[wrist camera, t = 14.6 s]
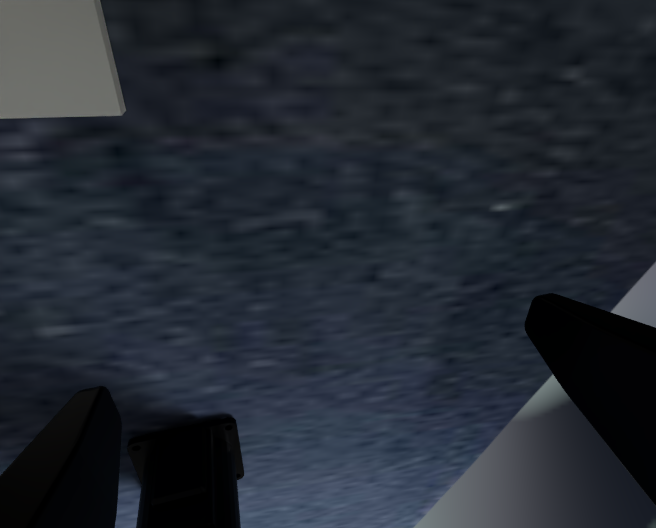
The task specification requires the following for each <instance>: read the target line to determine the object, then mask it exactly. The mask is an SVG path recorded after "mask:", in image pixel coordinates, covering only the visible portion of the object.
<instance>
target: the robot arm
mask: <svg viewBox="0 0 656 528" xmlns="http://www.w3.org/2000/svg"><path fill="white" fill-rule="evenodd" d="M525 331H526V333H527V335H528V337H529V338H530V340H531V341H532V343H533V344H534V346H535V347H536V349H537V350H538V352H539V353H540V355H541V356H542V358H543V359H544V361H545V362H546V364H547V365H548V367H549V368H550V370H551V371H552V373H553V375H554V376H555V378H556V379H557V381H558V382H559V383H560V385H561V386H562V388H563V389H564V391H565V392H566V393H567V394H568V396H569V397H570V399H571V400H572V401H573V402H574V404H575V405H576V406H577V407H578V408H579V410H580V411H581V412H582V414H583V415H584V416H585V417H586V419H587V420H588V421H589V422H590V424H591V425H592V426H593V428H594V429H595V430H596V431H597V432H598V434H599V435H600V436H601V438H602V439H603V440H604V441H605V443H606V444H607V445H608V446H609V448H610V449H611V450H612V451H613V453H614V454H615V455H616V456H617V458H618V459H619V460H620V461H621V463H622V464H623V465H624V467H625V468H626V469H627V470H628V471H629V473H630V474H631V475H632V477H633V478H634V479H635V480H636V482H637V483H638V484H639V485H640V487H641V488H642V489H643V490H644V492H645V493H646V494H647V495H648V497H649V498H650V499H651V500H652V502H653V503H654V504H655V505H656V328H655V327H652V326H649V325H646V324H643V323H640V322H637V321H634V320H631V319H628V318H625V317H622V316H619V315H616V314H613V313H610V312H607V311H605V310H602V309H599V308H596V307H593V306H590V305H587V304H584V303H581V302H578V301H575V300H572V299H569V298H566V297H563V296H560V295H557V294H553V293H549V294H544V295H539V296H536V297H535V298H534V299H533V300H532V302H531V306H530V309H529V312H528V315H527V318H526V321H525ZM121 431H122V424H121V417H120V414H119V412H118V410H117V408H116V405H115V403H114V401H113V399H112V397H111V394H110V392H109V390H108V389H107V388H106V387H104V386H99V387H94V388H89V389H84V390H81V391H79V392H77V393H76V394H75V395H74V396H73V397H72V398H71V399H70V400H69V402H68V403H67V404H66V405H65V406H64V407H63V408H62V409H61V410H60V411H59V412H58V414H57V415H56V416H55V417H54V418H53V419H52V420H51V421H50V422H49V423H48V424H47V426H46V427H45V428H44V429H43V430H42V431H41V432H40V433H39V434H38V435H37V436H36V437H35V439H34V440H33V441H32V442H31V443H30V444H29V445H28V446H27V447H26V448H25V449H24V451H23V452H22V453H21V454H20V455H19V456H18V457H17V458H16V459H15V460H14V461H13V463H12V464H11V465H10V466H9V467H8V468H7V469H6V470H5V471H4V472H3V473H2V474H1V476H0V528H115V521H116V513H117V500H118V483H119V466H120V449H121ZM127 450H128V453H129V455H130V458H131V460H132V462H133V465H134V467H135V470H136V472H137V474H138V477H139V479H140V482H141V484H142V486H141V494H140V502H139V510H138V517H137V525H136V528H241V526H240V514H239V501H238V489H237V480H239V479H241V478H243V476H244V468H243V461H242V455H241V449H240V442H239V436H238V430H237V423H236V420H235V419H234V418H224V419H219V420H215V421H210V422H205V423H201V424H196V425H191V426H187V427H182V428H177V429H173V430H168V431H163V432H159V433H154V434H149V435H145V436H140V437H135V438H132V439H131V440H130V441H129V442H128V448H127Z"/></svg>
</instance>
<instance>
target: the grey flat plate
mask: <svg viewBox="0 0 656 528" xmlns="http://www.w3.org/2000/svg"><path fill="white" fill-rule="evenodd" d="M125 111H126V108H125V104H124V100H123V96H122V91H121V87H120V83H119V79H118V74H117V70H116V66H115V62H114V57H113V53H112V49H111V45H110V41H109V36H108V32H107V28H106V24H105V19H104V15H103V11H102V7H101V2H100V0H0V119H2V118H42V117H82V116H122V115H123V113H124V112H125Z"/></svg>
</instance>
